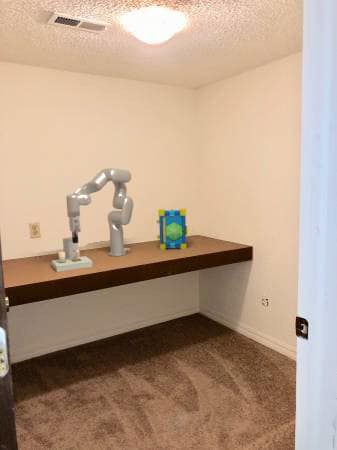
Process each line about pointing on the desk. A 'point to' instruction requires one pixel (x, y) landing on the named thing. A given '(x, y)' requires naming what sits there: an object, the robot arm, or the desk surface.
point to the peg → (76, 255)
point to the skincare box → (69, 247)
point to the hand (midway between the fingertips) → (75, 242)
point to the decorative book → (172, 228)
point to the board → (70, 263)
